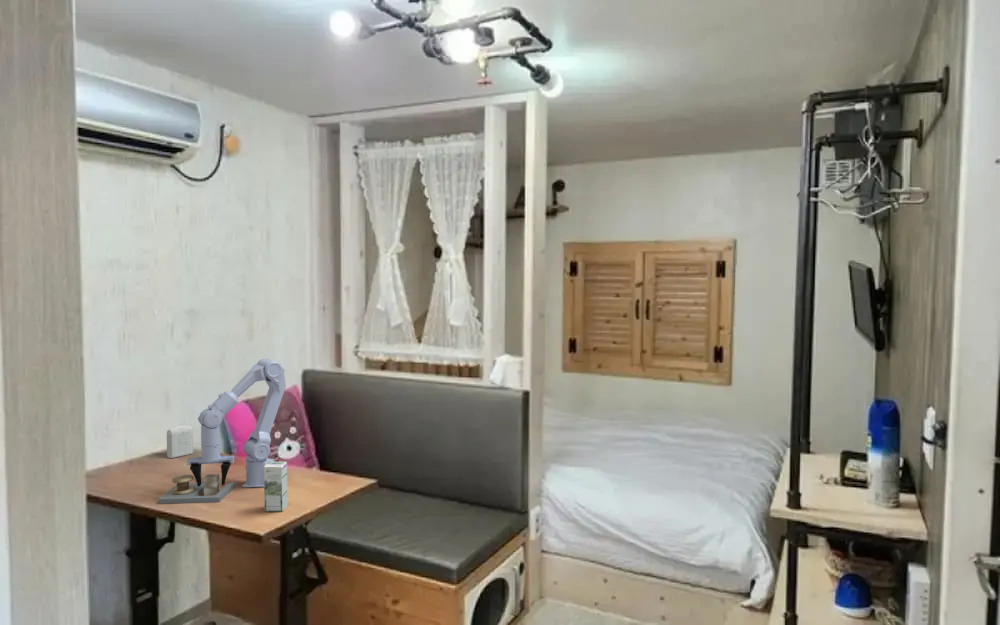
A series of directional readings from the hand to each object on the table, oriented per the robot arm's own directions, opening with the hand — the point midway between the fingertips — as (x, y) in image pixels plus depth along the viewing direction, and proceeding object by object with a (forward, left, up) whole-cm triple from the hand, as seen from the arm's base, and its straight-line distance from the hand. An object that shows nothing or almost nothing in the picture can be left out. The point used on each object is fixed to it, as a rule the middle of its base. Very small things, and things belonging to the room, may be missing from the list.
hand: (211, 484), depth 219 cm
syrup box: (-26, +17, -3) cm, 31 cm away
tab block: (0, 0, -3) cm, 3 cm away
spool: (+8, +2, -2) cm, 9 cm away
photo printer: (+30, -50, -3) cm, 58 cm away
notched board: (+4, +1, -3) cm, 5 cm away
